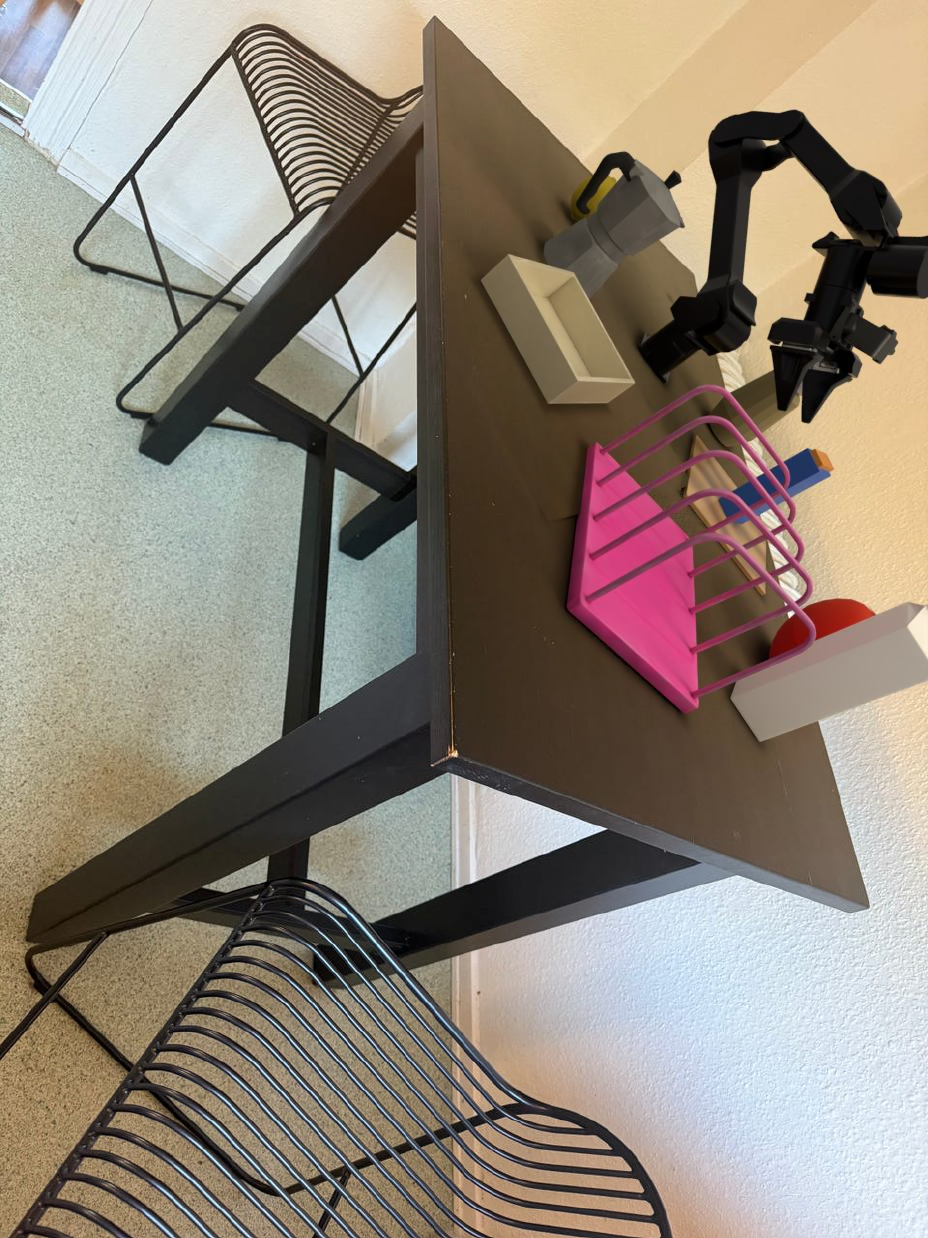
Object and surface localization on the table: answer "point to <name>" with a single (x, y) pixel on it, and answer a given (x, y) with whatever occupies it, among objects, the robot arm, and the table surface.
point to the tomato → (819, 622)
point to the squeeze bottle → (751, 409)
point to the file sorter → (669, 561)
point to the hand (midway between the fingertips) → (794, 417)
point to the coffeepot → (615, 221)
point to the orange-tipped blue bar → (803, 475)
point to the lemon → (594, 201)
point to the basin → (557, 332)
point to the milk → (838, 672)
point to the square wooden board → (712, 512)
